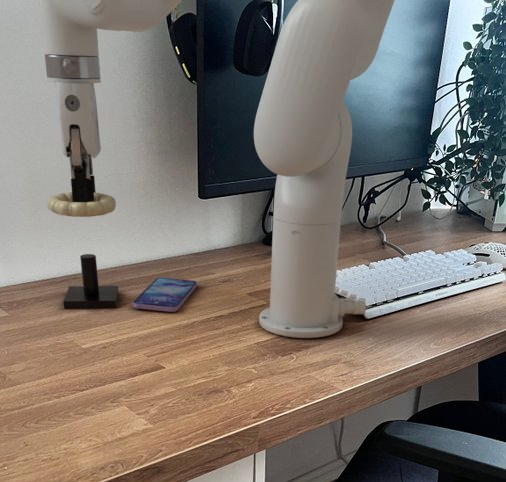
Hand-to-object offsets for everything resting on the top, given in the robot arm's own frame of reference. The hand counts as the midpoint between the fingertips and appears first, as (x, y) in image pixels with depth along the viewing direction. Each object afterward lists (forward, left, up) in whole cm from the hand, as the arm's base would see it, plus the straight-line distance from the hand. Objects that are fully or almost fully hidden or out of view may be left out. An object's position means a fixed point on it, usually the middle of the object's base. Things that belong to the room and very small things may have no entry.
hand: (84, 203), depth 108 cm
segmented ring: (0, +4, +1) cm, 4 cm away
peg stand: (0, +4, -14) cm, 15 cm away
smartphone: (-12, +3, -14) cm, 19 cm away
